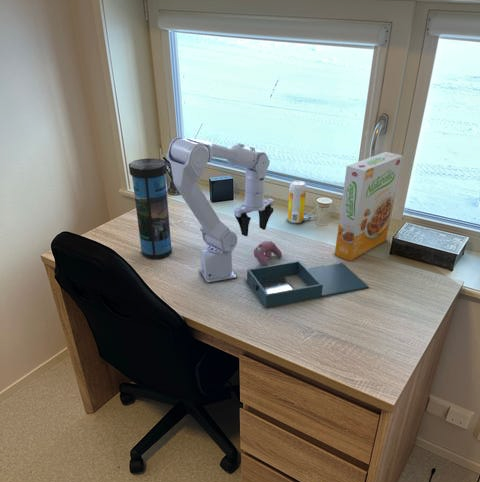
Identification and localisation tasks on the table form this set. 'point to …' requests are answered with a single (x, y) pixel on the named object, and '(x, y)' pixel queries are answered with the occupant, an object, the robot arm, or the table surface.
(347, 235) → the cereal box
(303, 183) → the beer can
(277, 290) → the silver plate
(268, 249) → the video game controller
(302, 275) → the box
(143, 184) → the advertising column
